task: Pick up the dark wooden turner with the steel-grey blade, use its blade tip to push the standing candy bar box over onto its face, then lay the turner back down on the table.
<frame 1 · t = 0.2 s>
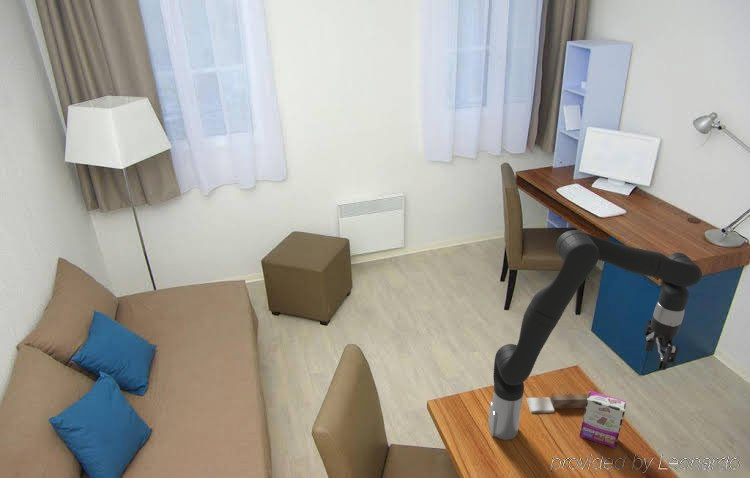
hand: (654, 359, 162), 29 cm above the table, tool pointing down, fingers open, 8 cm apart
turner: (559, 405, 184), on the table
candy bar box: (597, 437, 172), on the table
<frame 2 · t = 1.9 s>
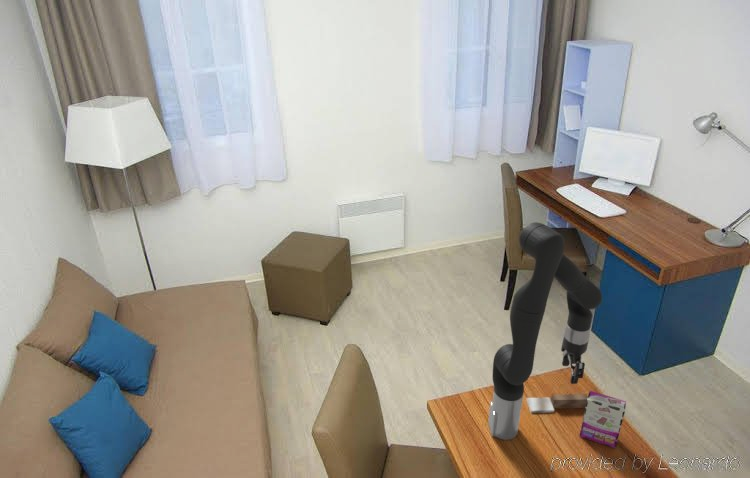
hand: (569, 374, 177), 14 cm above the table, tool pointing down, fingers open, 8 cm apart
nothing on the table moved.
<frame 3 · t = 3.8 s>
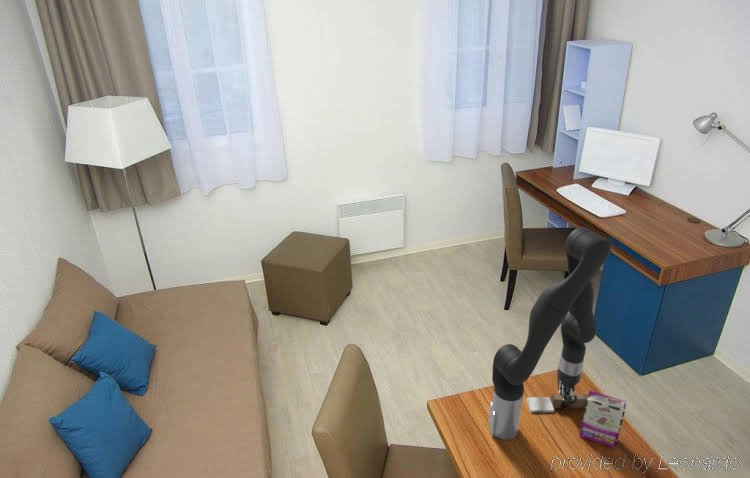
hand: (562, 404, 184), 0 cm above the table, tool pointing down, fingers closed on turner, 2 cm apart
turner: (559, 405, 184), on the table, touching gripper
everything else where it was.
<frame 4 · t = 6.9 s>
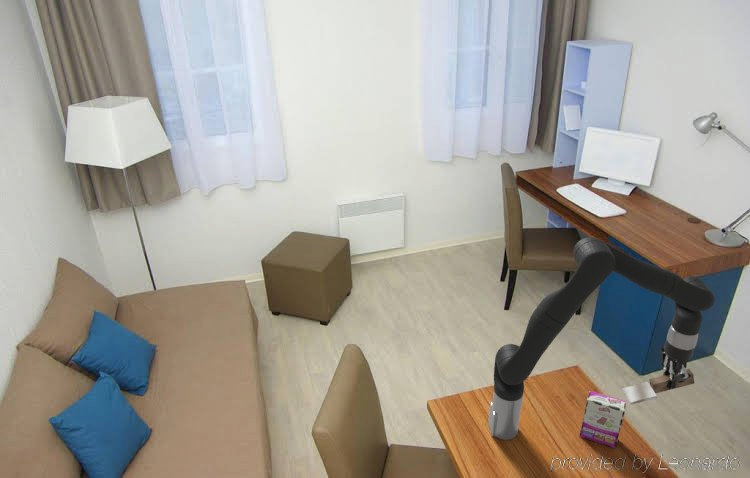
hand: (668, 384, 162), 22 cm above the table, tool pointing down, fingers closed on turner
turner: (662, 388, 162), point 20 cm above the table, tilted 19°, touching gripper
everything else where it was.
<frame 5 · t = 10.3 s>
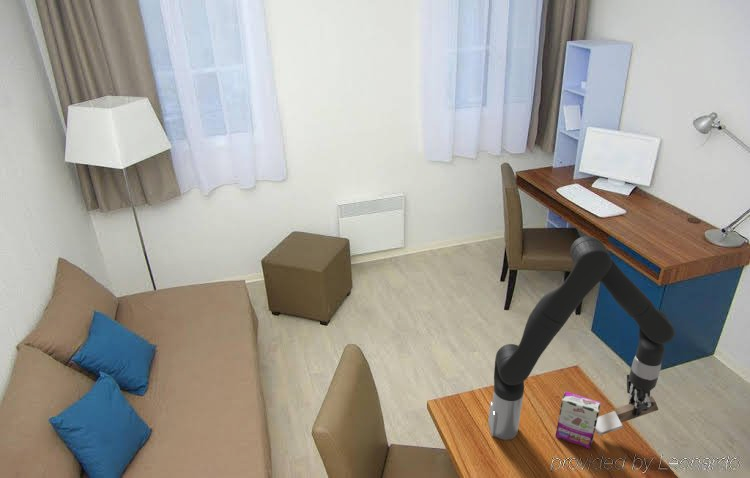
hand: (633, 411, 166), 11 cm above the table, tool pointing down, fingers closed on turner, 2 cm apart
turner: (628, 416, 167), point 9 cm above the table, tilted 27°, touching candy bar box, gripper
candy bar box: (573, 438, 172), on the table, touching turner
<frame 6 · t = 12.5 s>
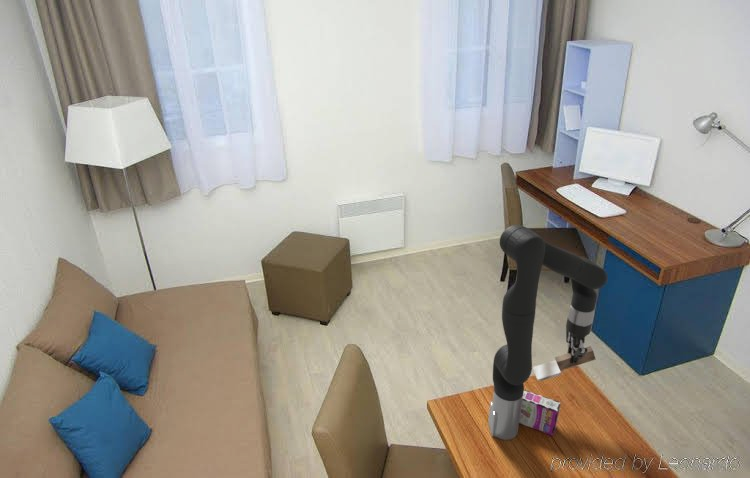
hand: (571, 359, 174), 21 cm above the table, tool pointing down, fingers closed on turner, 2 cm apart
turner: (567, 365, 175), point 18 cm above the table, tilted 22°, touching gripper
candy bar box: (558, 419, 171), point 5 cm above the table
when the fingers open (2 cm above the table, at t = 15.6 s): turner stays where it is, on the table.
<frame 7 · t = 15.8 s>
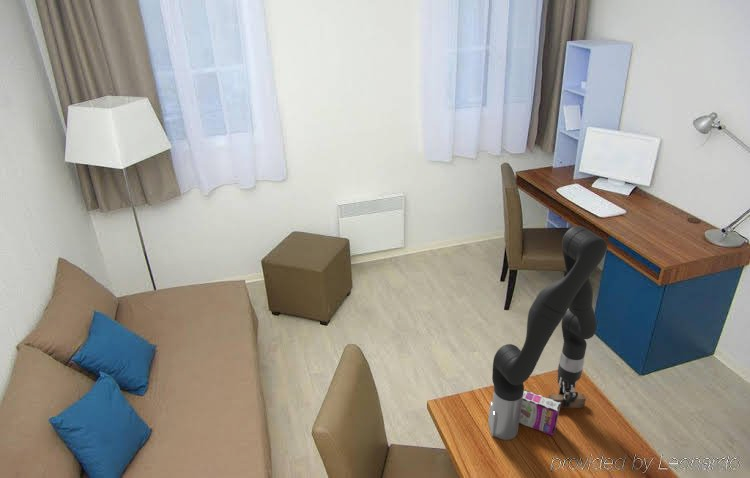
hand: (563, 401, 183), 2 cm above the table, tool pointing down, fingers open, 4 cm apart
turner: (557, 405, 184), on the table
everything else where it was.
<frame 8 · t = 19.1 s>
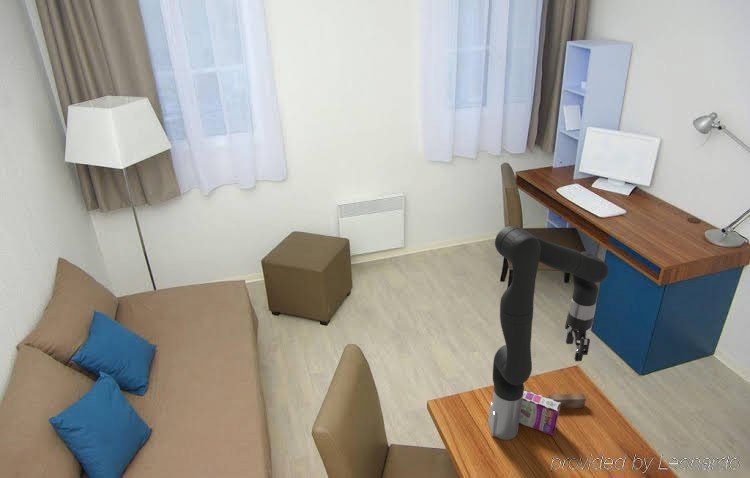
hand: (573, 351, 173), 24 cm above the table, tool pointing down, fingers open, 8 cm apart
nothing on the table moved.
at the end: candy bar box tilted 89°; candy bar box inside the target area (8.4 cm from its centre), point 5.4 cm above the table; turner inside the target area (1.5 cm from its centre), on the table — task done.
